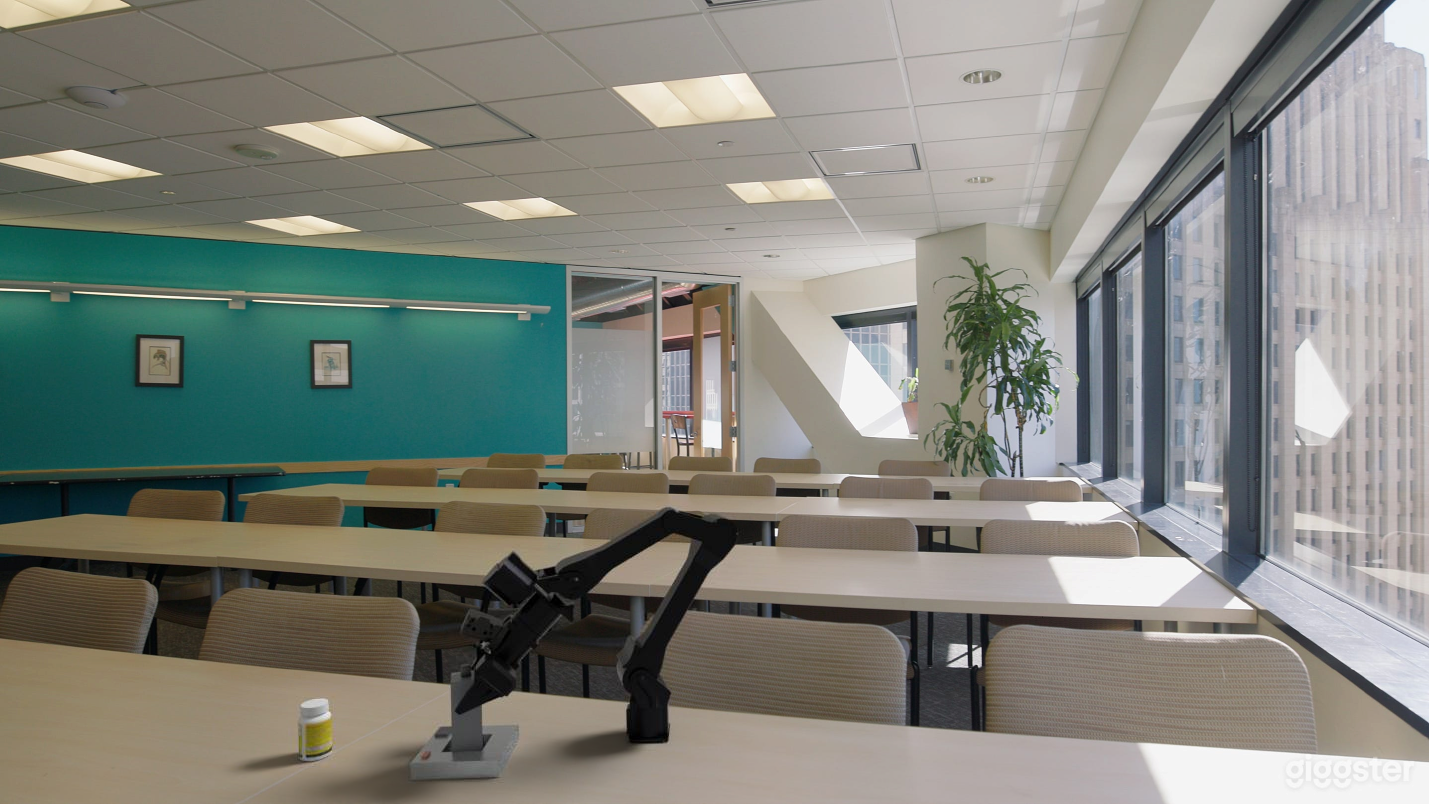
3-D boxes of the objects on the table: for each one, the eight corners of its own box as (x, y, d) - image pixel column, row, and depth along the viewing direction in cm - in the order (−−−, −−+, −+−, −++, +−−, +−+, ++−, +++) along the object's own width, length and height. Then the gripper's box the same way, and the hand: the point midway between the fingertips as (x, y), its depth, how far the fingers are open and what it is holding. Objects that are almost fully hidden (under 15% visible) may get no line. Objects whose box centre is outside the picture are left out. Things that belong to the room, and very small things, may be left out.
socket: (519, 739, 130) (518, 722, 130) (499, 777, 117) (498, 757, 117) (439, 742, 130) (439, 724, 130) (410, 779, 117) (410, 760, 117)
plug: (482, 750, 127) (480, 659, 127) (483, 762, 122) (480, 668, 122) (453, 754, 125) (451, 662, 125) (452, 767, 121) (450, 671, 121)
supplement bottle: (339, 751, 128) (337, 699, 128) (315, 764, 123) (314, 710, 123) (315, 747, 129) (314, 696, 129) (291, 760, 125) (290, 706, 125)
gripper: (492, 579, 134) (424, 651, 131) (490, 606, 116) (412, 690, 113) (540, 621, 136) (475, 693, 133) (546, 654, 118) (471, 738, 115)
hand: (458, 701), depth 123 cm, fingers open, 9 cm apart
